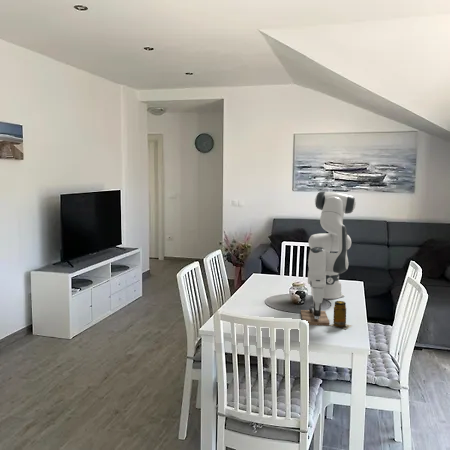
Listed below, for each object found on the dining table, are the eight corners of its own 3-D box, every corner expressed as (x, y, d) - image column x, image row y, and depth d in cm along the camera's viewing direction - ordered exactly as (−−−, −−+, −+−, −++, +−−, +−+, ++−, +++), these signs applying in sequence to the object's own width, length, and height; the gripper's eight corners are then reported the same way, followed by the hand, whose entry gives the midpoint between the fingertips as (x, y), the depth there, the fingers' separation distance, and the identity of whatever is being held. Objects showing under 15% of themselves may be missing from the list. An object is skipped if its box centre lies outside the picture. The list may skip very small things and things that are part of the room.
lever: (308, 309, 247) (309, 290, 245) (317, 310, 246) (317, 291, 245) (313, 321, 228) (313, 300, 227) (321, 321, 227) (322, 300, 226)
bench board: (300, 312, 248) (300, 310, 248) (325, 313, 247) (325, 310, 247) (303, 324, 228) (303, 321, 228) (329, 325, 227) (329, 322, 227)
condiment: (336, 322, 232) (337, 299, 231) (352, 326, 227) (353, 302, 225) (329, 325, 227) (330, 302, 225) (345, 329, 221) (346, 305, 220)
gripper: (308, 275, 238) (308, 301, 239) (312, 284, 218) (311, 313, 219) (321, 275, 237) (320, 301, 239) (325, 285, 217) (324, 313, 218)
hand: (316, 307), depth 229 cm, fingers open, 8 cm apart
